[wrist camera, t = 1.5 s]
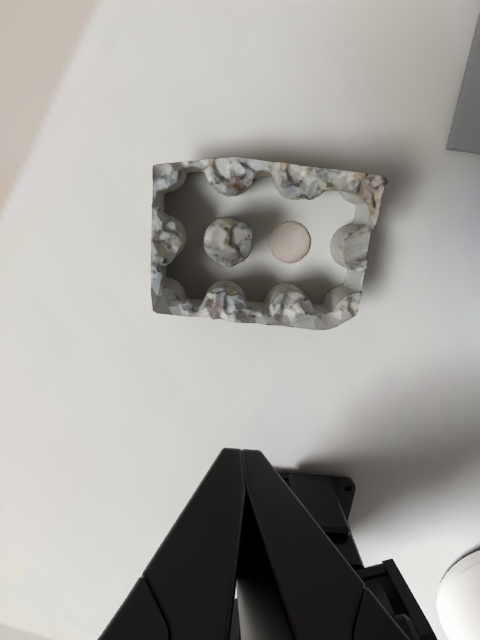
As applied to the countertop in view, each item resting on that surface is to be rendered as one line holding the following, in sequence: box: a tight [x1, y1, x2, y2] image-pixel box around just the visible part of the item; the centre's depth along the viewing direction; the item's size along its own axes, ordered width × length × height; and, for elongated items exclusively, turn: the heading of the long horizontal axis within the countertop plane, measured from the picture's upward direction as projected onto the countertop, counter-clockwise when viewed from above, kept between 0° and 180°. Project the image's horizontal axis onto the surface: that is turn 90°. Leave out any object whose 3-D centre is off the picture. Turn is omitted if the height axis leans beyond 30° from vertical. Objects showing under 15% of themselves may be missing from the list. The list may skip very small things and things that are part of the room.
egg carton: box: [151, 157, 387, 330], centre depth 17 cm, size 11×8×4 cm
